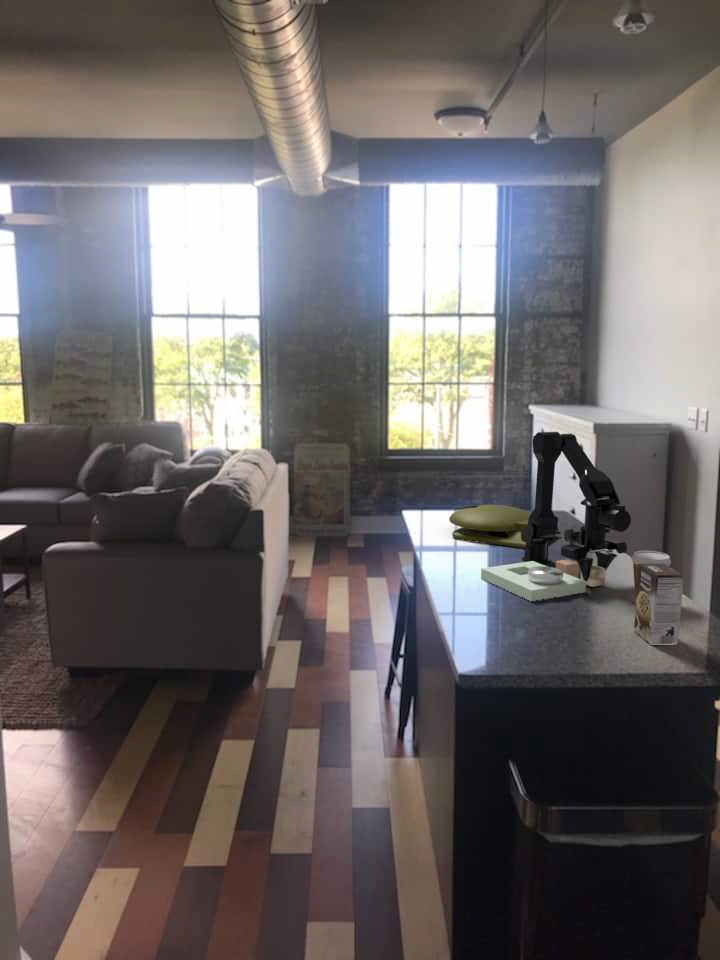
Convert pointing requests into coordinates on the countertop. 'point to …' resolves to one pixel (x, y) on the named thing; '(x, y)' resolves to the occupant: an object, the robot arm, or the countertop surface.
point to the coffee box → (658, 603)
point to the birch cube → (595, 576)
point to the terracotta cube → (568, 567)
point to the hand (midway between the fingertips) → (592, 579)
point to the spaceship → (492, 523)
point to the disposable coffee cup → (648, 561)
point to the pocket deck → (517, 582)
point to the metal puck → (545, 575)
